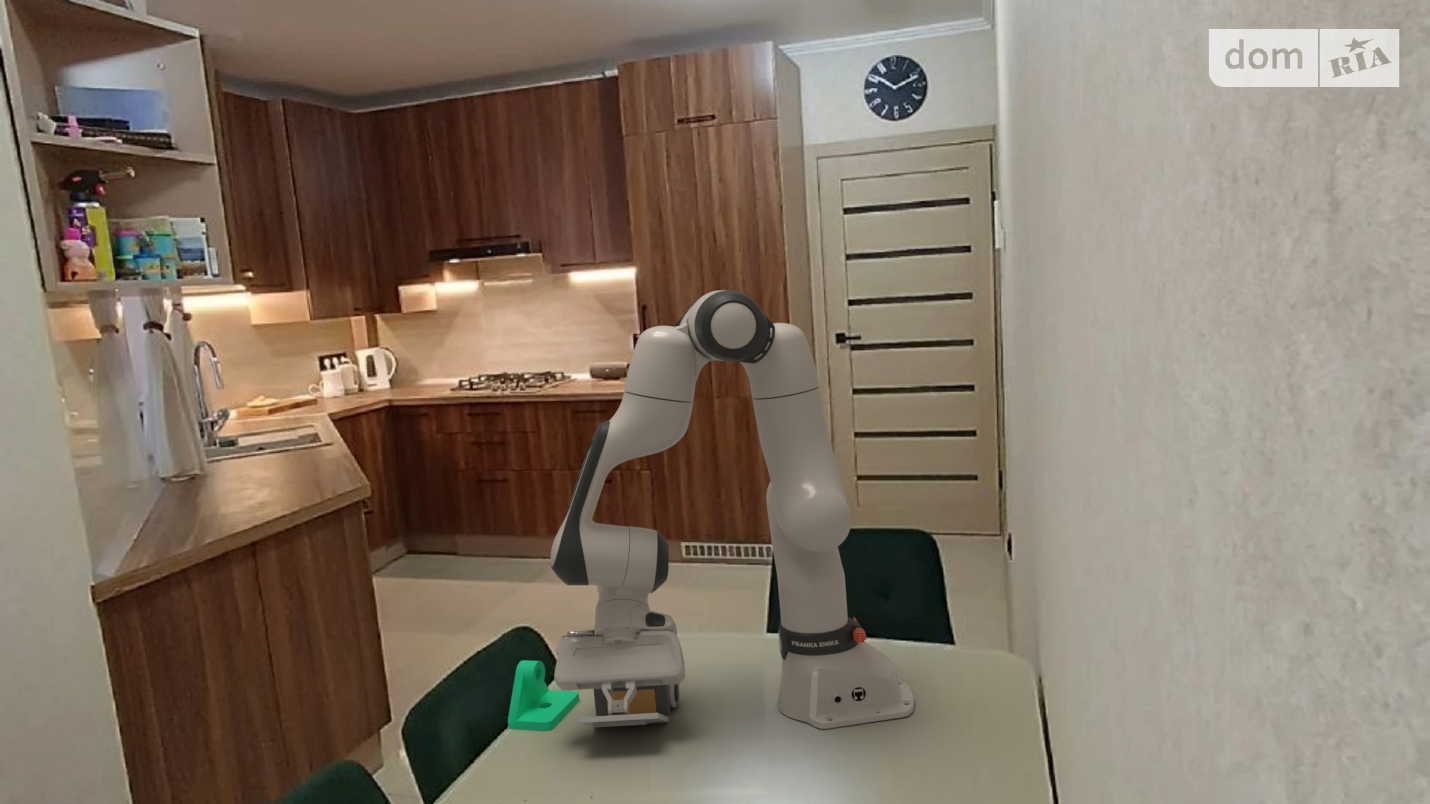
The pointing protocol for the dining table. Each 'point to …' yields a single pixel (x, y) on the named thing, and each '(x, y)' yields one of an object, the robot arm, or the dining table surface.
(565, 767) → the dining table surface
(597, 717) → the side door
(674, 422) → the robot arm
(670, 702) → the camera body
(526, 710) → the camera mount
